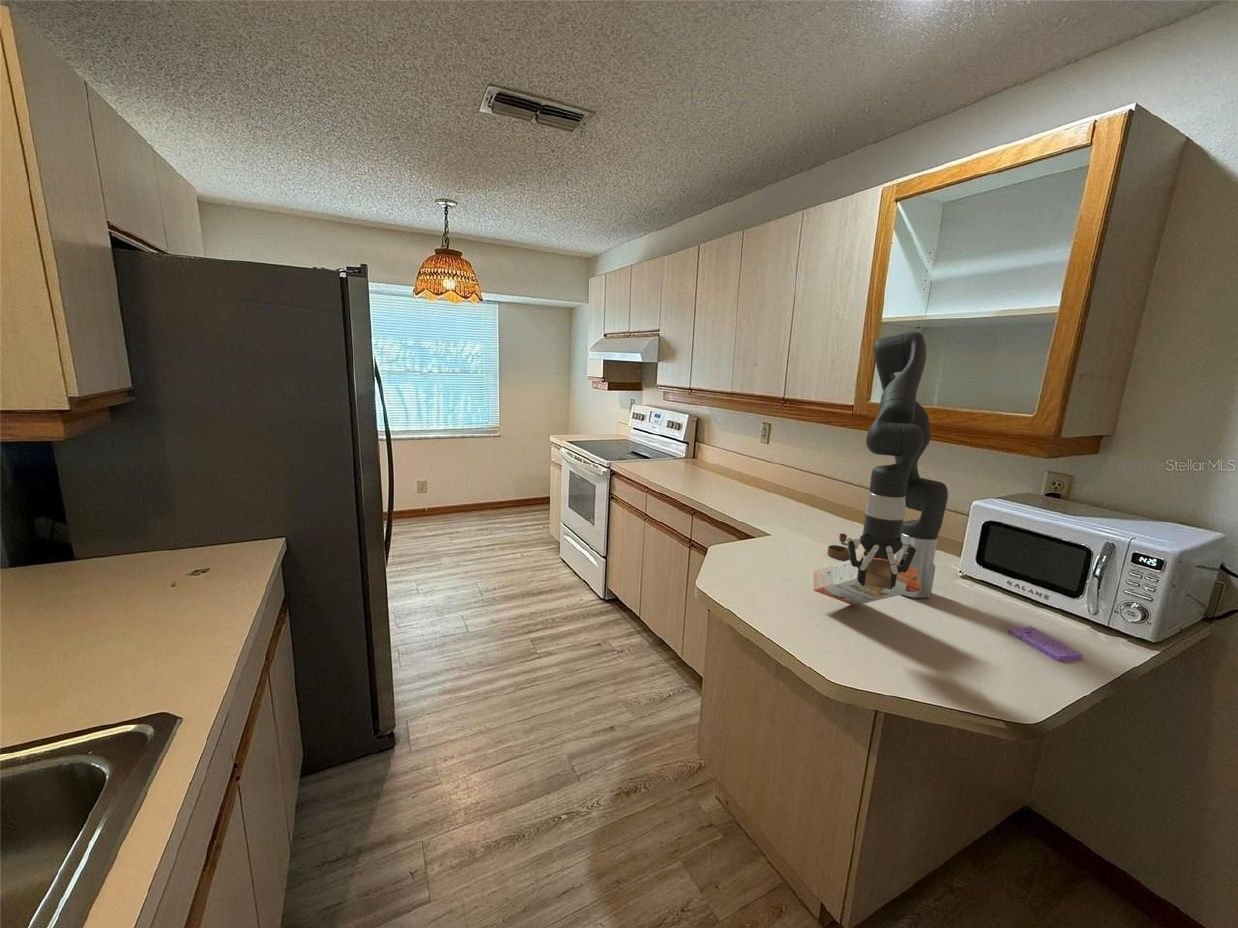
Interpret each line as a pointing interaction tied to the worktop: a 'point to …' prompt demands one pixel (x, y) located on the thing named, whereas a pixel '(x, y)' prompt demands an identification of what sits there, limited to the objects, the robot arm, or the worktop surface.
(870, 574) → the walnut block
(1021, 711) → the worktop surface
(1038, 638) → the sponges
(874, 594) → the cracker box
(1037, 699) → the worktop surface
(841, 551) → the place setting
